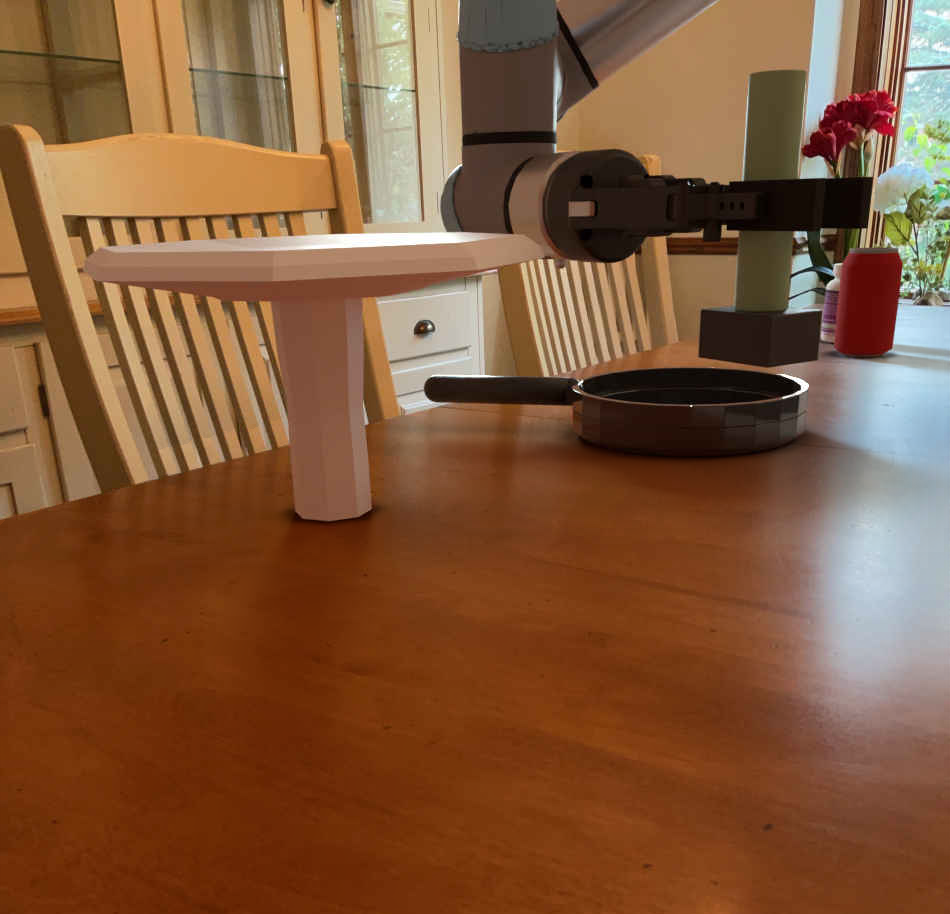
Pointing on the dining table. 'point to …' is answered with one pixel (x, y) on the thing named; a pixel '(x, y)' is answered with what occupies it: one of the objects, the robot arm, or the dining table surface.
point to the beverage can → (868, 302)
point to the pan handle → (500, 389)
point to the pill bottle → (831, 306)
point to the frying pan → (689, 410)
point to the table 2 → (315, 324)
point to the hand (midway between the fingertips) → (842, 203)
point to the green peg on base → (766, 242)
